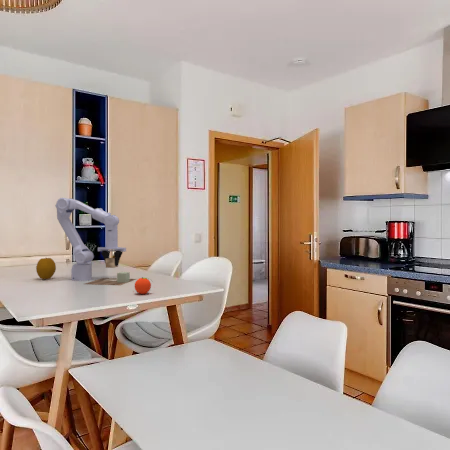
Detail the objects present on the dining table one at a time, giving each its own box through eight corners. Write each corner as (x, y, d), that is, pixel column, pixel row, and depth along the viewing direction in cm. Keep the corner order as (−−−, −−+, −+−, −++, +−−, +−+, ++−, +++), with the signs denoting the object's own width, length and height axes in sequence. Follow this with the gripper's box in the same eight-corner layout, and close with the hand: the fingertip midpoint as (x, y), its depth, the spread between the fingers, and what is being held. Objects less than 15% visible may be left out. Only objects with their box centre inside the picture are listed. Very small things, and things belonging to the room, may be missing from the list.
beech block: (105, 267, 205) (105, 258, 205) (109, 266, 210) (109, 257, 210) (113, 267, 205) (113, 258, 204) (117, 266, 209) (117, 257, 209)
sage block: (117, 282, 199) (117, 273, 199) (121, 280, 204) (121, 271, 204) (125, 282, 198) (125, 273, 198) (129, 281, 203) (129, 272, 203)
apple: (51, 280, 212) (50, 258, 211) (32, 280, 212) (32, 258, 212) (59, 277, 221) (58, 256, 221) (41, 277, 222) (41, 256, 221)
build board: (82, 286, 194) (82, 283, 194) (103, 279, 214) (103, 277, 214) (120, 287, 191) (120, 285, 191) (137, 280, 210) (137, 278, 210)
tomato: (150, 291, 180) (150, 275, 180) (155, 294, 174) (155, 277, 174) (132, 293, 176) (132, 276, 176) (136, 296, 170) (136, 279, 170)
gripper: (94, 239, 205) (94, 266, 205) (121, 239, 202) (121, 266, 202) (101, 238, 212) (101, 264, 212) (127, 238, 209) (127, 265, 209)
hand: (112, 265), depth 207 cm, fingers closed on beech block, 4 cm apart
